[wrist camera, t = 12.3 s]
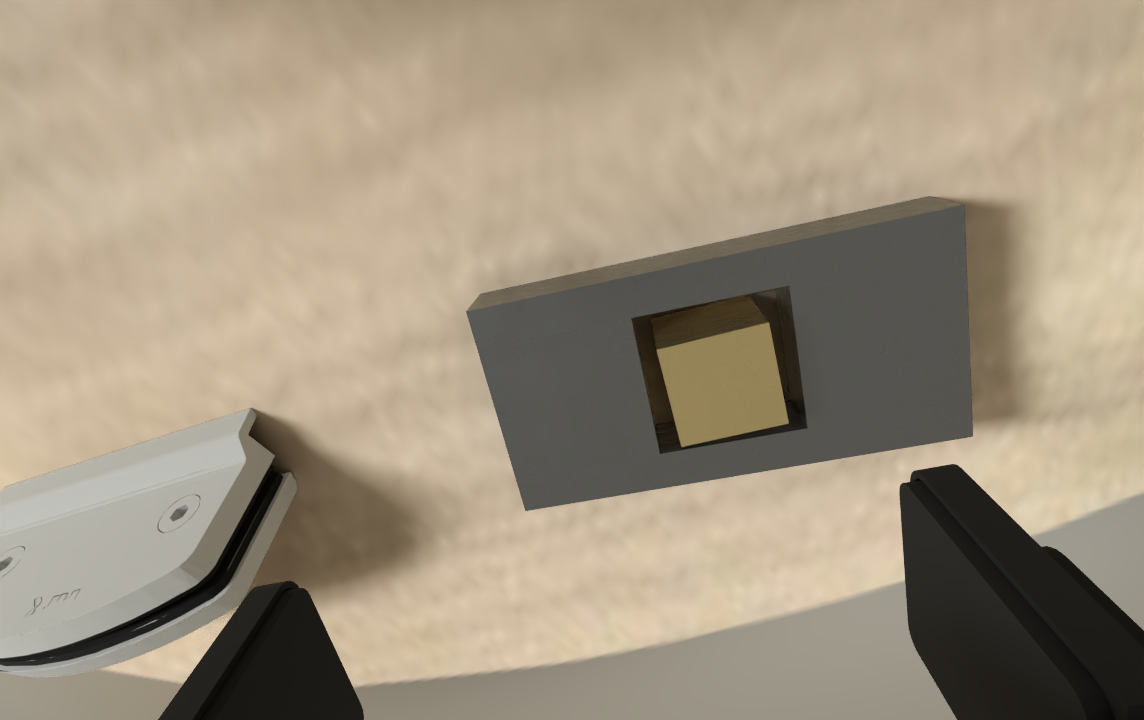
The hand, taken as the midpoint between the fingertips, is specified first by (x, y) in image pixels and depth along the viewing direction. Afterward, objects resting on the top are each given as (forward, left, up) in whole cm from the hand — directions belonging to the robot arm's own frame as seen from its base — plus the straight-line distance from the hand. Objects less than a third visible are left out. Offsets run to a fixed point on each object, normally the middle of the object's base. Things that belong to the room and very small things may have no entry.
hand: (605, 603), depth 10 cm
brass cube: (+4, +4, -21) cm, 22 cm away
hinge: (+7, -27, -22) cm, 35 cm away
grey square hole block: (+4, +4, -21) cm, 22 cm away
